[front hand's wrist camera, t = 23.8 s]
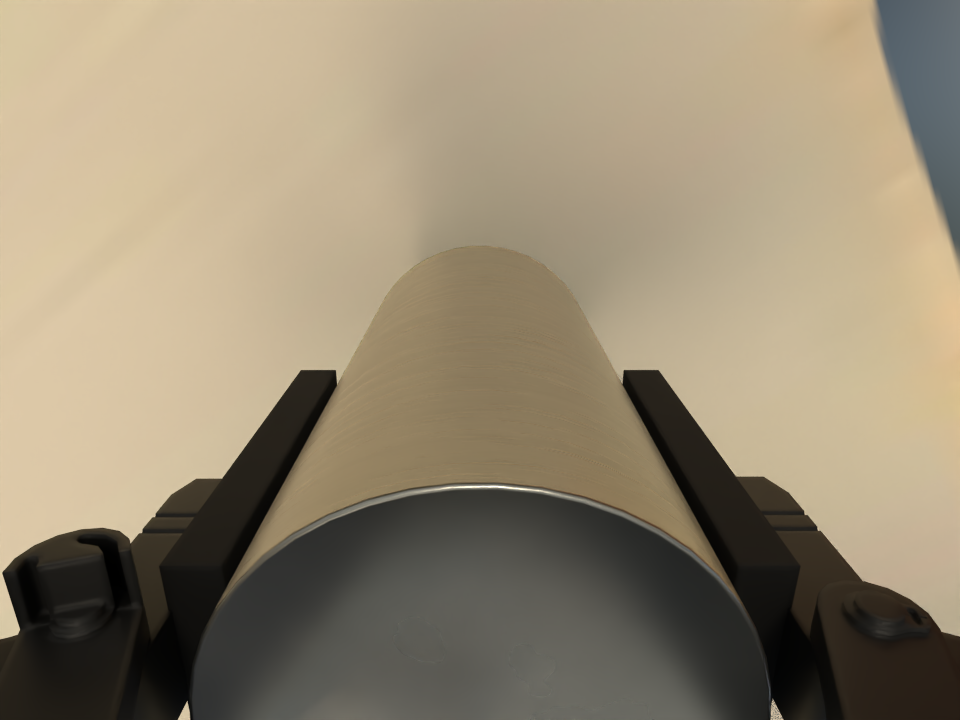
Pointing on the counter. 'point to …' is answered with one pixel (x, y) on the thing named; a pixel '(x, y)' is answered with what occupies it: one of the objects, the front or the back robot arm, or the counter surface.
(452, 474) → the tin
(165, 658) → the front robot arm
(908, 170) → the counter surface
